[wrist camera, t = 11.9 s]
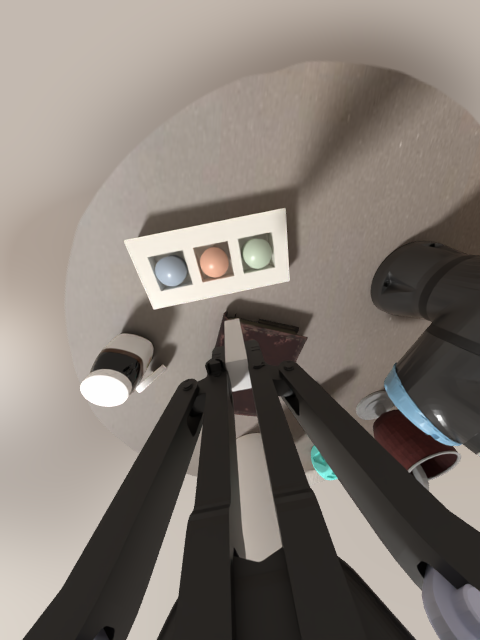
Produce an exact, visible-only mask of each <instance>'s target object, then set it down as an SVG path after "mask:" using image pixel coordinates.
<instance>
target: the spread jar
mask: <svg viewBox="0 0 480 640" xmlns="http://www.w3.org/2000/svg"><path fill="white" fill-rule="evenodd" d="M153 351H154V349H153V344H152V343H151V341H149V340H148V339H146V338H144V337H142V336H139V335H135V334H128V333H124V334H119V335H117V336H116V337H115V338H114V339H113V340H112V341H111V342H110V343H109V344H108V345H107V346H106V347H105V348H104V349H103V350H102V351H101V352H100V354H99V355H98V357H97V358H96V360H95V362H94V364H93V366H92V368H91V371H90V374H89V375H88V376H87V377H86V378H85V379H84V380H83V382H82V383H81V386H80V390H81V393H82V394H83V396H84V397H85V398H86V399H87V400H88V401H90V402H92V403H94V404H96V405H100V406H106V407H111V406H117V405H120V404H122V403H123V402H125V401H126V399H127V398H128V396H129V395H130V394H132V393H133V392H134V391H135V390H137V391H138V392H139V393H140V392H142V391H143V390H144V389H145V388H146V387H147V386H149V385H150V384H151V383H152V382H153V381H154V380H155V379H156V378H158V377H159V376H160V375H161V374H162V373H163V372H164V371H165V370H166V369H167V368H166V367H165V366H164V365H161V366H160V367H159V368H158V369H157V370H155V371H154V372H153V373H152V374H151V375H150V376H148V377H147V378H146V379H145V380H144V381H143V382H142V383H140V381H141V379H142V377H143V375H144V374H145V372H146V370H147V368H148V366H149V364H150V362H151V359H152V356H153ZM139 383H140V384H139Z"/></svg>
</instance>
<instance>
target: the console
mask: <svg viewBox="0 0 480 640" xmlns="http://www.w3.org/2000/svg"><path fill="white" fill-rule="evenodd" d="M254 238H255V239H263V240H265V241H267V242H268V243H269V245H270V246H271V249H272V256H271V260H270V261H269V263H268V264H267V265H266V266H265V267H263V268H259V269H255V268H252V267H250V266H249V265H248V264H247V263H246V262H245V261H244V260H243V258H242V247H243V245H244V244H245V243H246V242H247V241H248V240H250V239H254ZM124 243H125V245H126V247H127V250H128V252H129V254H130V256H131V259H132V261H133V263H134V266H135V268H136V270H137V273H138V275H139V277H140V279H141V282H142V284H143V286H144V289H145V291H146V293H147V295H148V298H149V300H150V302H151V305H152V307H153V309H159V308H164V307H168V306H173V305H178V304H183V303H187V302H192V301H197V300H202V299H206V298H211V297H216V296H221V295H225V294H230V293H235V292H239V291H244V290H249V289H254V288H258V287H263V286H268V285H273V284H277V283H282V282H287V281H290V278H289V260H288V242H287V224H286V208H282V209H277V210H272V211H267V212H262V213H257V214H252V215H247V216H242V217H237V218H232V219H227V220H222V221H217V222H212V223H207V224H202V225H197V226H192V227H188V228H183V229H178V230H173V231H168V232H163V233H158V234H153V235H148V236H143V237H138V238H133V239H128V240H124ZM210 247H218V248H221V249H222V250H223V251H224V252H225V253H226V255H227V258H228V262H229V265H228V269H227V271H226V272H225V274H223V275H222V276H220V277H210V276H208V275H206V274H205V273H204V272H203V270H202V269H201V266H200V258H201V256H202V254H203V253H204V251H205V250H206V249H208V248H210ZM170 255H176V256H179V257H181V258H183V259H184V260H185V262H186V263H187V267H188V274H187V276H186V278H185V279H184V280H183V282H182V283H181V284H179V285H177V286H167V285H165V284H163V283H162V282H161V281H160V280H159V279H158V278H157V276H156V273H155V267H156V264H157V262H158V261H159V260H161V259H162V258H165V257H167V256H170Z"/></svg>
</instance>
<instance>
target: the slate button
mask: <svg viewBox="0 0 480 640" xmlns="http://www.w3.org/2000/svg"><path fill="white" fill-rule="evenodd" d="M155 273H156V276H157V278H158V279H159V280H160V281H161V282H162V283H163V284H165V285H167V286H177V285H179V284H181V283H182V282H183V280H184V279H185V278H186V276H187V274H188V267H187V263H186V262H185V260H184V259H183V258H181V257H179V256H176V255H170V256H167V257H165V258H162V259H161V260H159V261H158V262H157V264H156V267H155Z"/></svg>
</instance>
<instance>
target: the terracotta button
mask: <svg viewBox="0 0 480 640" xmlns="http://www.w3.org/2000/svg"><path fill="white" fill-rule="evenodd" d="M228 265H229V262H228V258H227V255H226V253H225V252H224V251H223V250H222V249H221V248H218V247H210V248H208V249H206V250H205V251H204V253H203V254H202V256H201V258H200V266H201V269H202V270H203V272H204V273H205V274H206V275H208V276H210V277H220V276H222V275H223V274H225V272H226V271H227V269H228Z"/></svg>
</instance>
